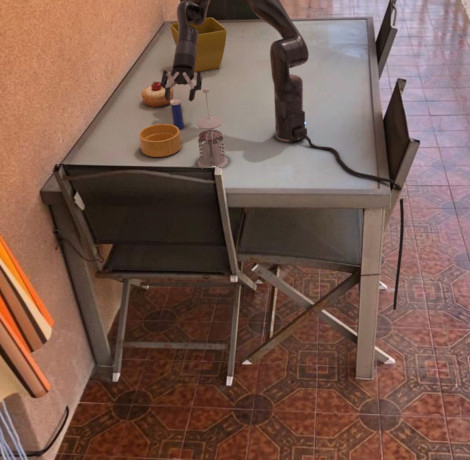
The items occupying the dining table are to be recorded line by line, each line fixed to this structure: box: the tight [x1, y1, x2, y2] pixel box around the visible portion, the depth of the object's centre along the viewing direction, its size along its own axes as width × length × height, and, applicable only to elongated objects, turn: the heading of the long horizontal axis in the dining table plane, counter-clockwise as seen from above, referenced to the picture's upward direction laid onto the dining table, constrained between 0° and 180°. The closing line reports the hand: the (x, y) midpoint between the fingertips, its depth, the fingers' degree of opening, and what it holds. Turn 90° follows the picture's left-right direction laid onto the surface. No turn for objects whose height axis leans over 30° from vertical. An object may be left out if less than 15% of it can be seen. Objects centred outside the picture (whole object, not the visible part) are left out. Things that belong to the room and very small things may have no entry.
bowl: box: [138, 123, 182, 158], centre depth 216 cm, size 13×13×6 cm
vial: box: [169, 98, 184, 130], centre depth 228 cm, size 4×4×10 cm
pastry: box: [140, 81, 174, 108], centre depth 247 cm, size 12×12×9 cm
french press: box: [195, 87, 229, 169], centre depth 201 cm, size 10×12×25 cm
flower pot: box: [169, 17, 228, 73], centre depth 274 cm, size 19×19×17 cm
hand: (178, 100), depth 228 cm, fingers open, 8 cm apart
